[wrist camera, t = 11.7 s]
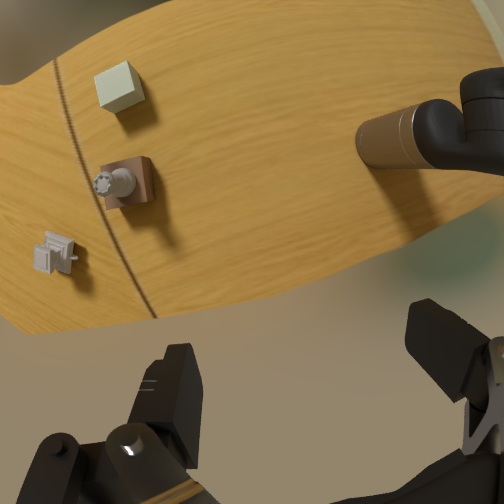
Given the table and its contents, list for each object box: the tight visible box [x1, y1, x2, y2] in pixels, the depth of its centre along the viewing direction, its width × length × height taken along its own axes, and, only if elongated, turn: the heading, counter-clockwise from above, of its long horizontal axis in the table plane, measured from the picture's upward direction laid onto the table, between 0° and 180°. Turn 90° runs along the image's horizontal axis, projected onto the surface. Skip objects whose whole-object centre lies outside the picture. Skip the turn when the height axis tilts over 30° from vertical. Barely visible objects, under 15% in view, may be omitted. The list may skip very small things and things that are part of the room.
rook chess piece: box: [93, 168, 136, 197], centre depth 34 cm, size 4×4×8 cm
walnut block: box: [100, 156, 155, 210], centre depth 40 cm, size 7×7×5 cm
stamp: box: [34, 231, 79, 274], centre depth 41 cm, size 9×7×8 cm
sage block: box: [94, 60, 145, 114], centre depth 36 cm, size 6×6×6 cm
